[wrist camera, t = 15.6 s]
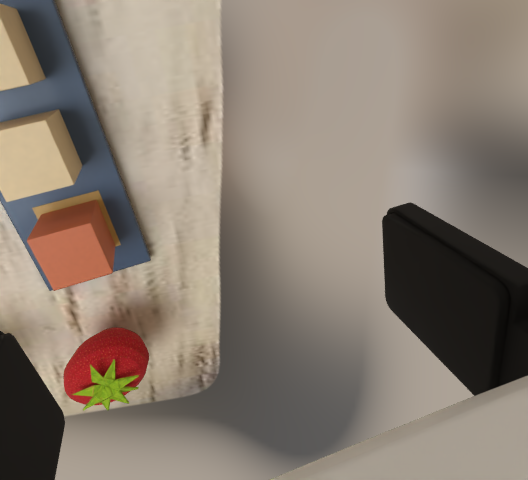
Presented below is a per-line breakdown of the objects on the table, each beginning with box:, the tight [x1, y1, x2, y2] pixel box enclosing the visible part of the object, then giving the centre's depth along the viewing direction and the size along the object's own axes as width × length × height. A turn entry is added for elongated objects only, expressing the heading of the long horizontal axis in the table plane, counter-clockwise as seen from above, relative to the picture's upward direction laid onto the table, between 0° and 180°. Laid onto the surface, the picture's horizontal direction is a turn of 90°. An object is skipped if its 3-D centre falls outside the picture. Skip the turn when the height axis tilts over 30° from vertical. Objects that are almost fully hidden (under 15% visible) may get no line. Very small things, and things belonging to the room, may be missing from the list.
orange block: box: [27, 200, 115, 291], centre depth 31 cm, size 4×4×5 cm
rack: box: [0, 0, 151, 291], centre depth 29 cm, size 22×9×6 cm, turn 12°
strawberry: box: [64, 327, 149, 410], centre depth 35 cm, size 6×8×10 cm
